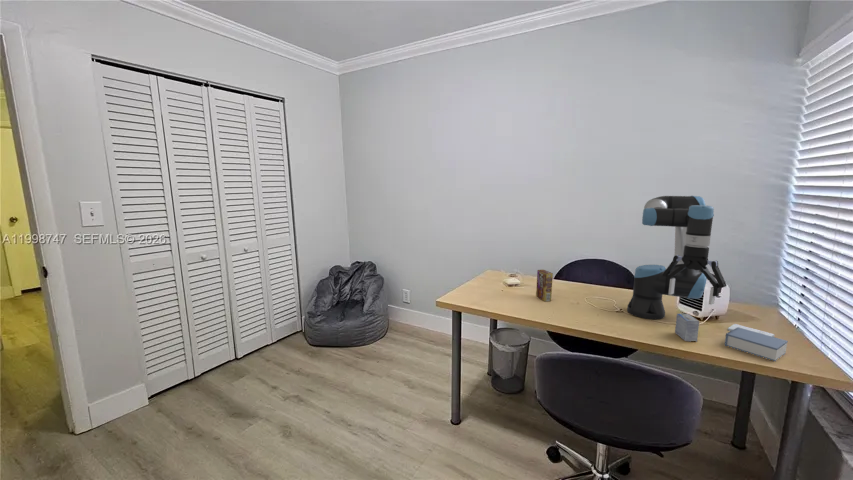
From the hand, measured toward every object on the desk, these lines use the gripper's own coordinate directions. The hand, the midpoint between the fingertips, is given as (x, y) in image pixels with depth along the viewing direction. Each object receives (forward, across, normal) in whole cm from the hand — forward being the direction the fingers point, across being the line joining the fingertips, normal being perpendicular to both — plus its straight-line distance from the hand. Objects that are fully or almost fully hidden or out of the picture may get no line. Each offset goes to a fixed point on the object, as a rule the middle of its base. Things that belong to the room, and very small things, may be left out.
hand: (690, 298), depth 134 cm
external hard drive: (+17, +12, +27) cm, 34 cm away
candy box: (+16, -62, -11) cm, 65 cm away
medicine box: (+16, 0, 0) cm, 17 cm away
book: (+16, +18, +10) cm, 26 cm away
